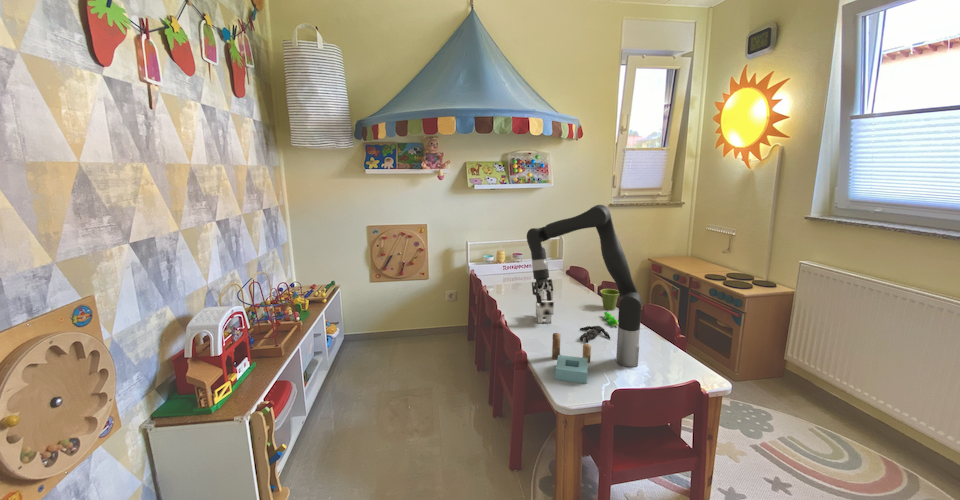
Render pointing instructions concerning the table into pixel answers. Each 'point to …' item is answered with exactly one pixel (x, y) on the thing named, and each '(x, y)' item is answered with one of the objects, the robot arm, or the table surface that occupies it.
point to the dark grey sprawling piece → (592, 333)
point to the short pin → (587, 352)
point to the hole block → (571, 369)
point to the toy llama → (544, 309)
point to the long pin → (556, 346)
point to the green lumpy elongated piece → (610, 319)
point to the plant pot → (609, 298)
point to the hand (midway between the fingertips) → (544, 302)
